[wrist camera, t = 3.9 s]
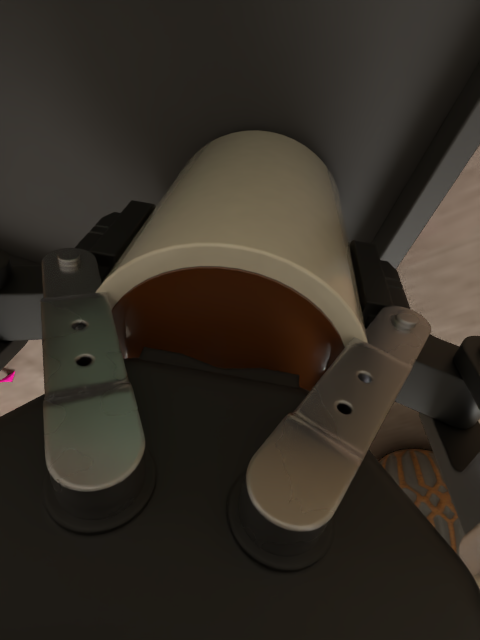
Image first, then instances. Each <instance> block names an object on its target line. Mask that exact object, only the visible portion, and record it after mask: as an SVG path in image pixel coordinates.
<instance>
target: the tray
mask: <svg viewBox="0 0 480 640" xmlns="http://www.w3.org/2000/svg"><path fill="white" fill-rule="evenodd" d="M253 130H259V131H268V132H273V133H277V134H281V135H284V136H287V137H289V138H291V139H294V140H296V141H297V142H299V143H301V144H303V145H304V146H306V147H307V148H308V149H310V150H311V151H312V152H313V153H315V154H316V155H317V156H318V157H319V158H320V159H321V161H322V162H323V163H324V164H325V165H326V167H327V168H328V170H329V171H330V173H331V174H332V176H333V178H334V180H335V182H336V185H337V188H338V191H339V193H340V199H341V204H342V209H343V214H344V220H345V225H346V230H347V235H348V241H349V245H350V243H351V241H352V240H356V241H361V242H367V243H372V244H375V245H376V247H377V251H378V254H379V258H380V260H384V261H388V262H389V263H390V264H391V265H392V266H393V267H394V268H395V269H397V267H398V266H399V264H400V263H401V261H402V260H403V258H404V257H405V255H406V254H407V252H408V251H409V249H410V248H411V246H412V245H413V243H414V242H415V240H416V239H417V237H418V236H419V234H420V233H421V231H422V230H423V228H424V227H425V225H426V224H427V222H428V221H429V219H430V218H431V216H432V215H433V213H434V212H435V210H436V209H437V207H438V206H439V204H440V203H441V201H442V200H443V198H444V197H445V195H446V194H447V193H448V191H449V190H450V188H451V187H452V185H453V184H454V182H455V181H456V179H457V178H458V176H459V175H460V173H461V172H462V170H463V169H464V167H465V166H466V164H467V163H468V161H469V160H470V158H471V157H472V155H473V154H474V152H475V151H476V149H477V148H478V146H479V145H480V0H0V249H1V250H3V251H5V252H6V253H7V254H8V255H9V258H10V262H11V265H41V262H42V259H43V257H44V256H45V255H47V254H48V253H50V252H52V251H55V250H58V249H63V248H75V247H76V245H77V244H78V243H79V242H80V241H81V240H82V239H83V238H84V237H85V236H86V234H87V233H88V232H89V233H90V230H91V229H92V228H93V227H94V226H95V225H96V223H97V222H98V221H99V220H100V219H101V218H102V217H104V216H106V215H108V214H111V213H113V212H118V213H121V212H122V211H123V210H124V208H125V207H126V206H127V205H128V204H129V203H130V201H131V200H134V201H140V202H145V203H151V204H155V206H156V205H157V204H158V203H159V201H160V200H161V198H162V197H163V195H164V194H165V193H166V191H167V190H168V188H169V187H170V186H171V184H172V183H173V181H174V180H175V178H176V177H177V176H178V174H179V173H180V171H181V170H182V169H183V167H184V166H185V164H186V163H187V162H188V161H189V159H190V158H191V157H192V156H193V155H194V154H195V153H196V152H197V151H198V150H199V149H201V148H202V147H204V146H205V145H207V144H208V143H209V142H211V141H213V140H215V139H217V138H219V137H222V136H225V135H228V134H231V133H235V132H241V131H253Z"/></svg>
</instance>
